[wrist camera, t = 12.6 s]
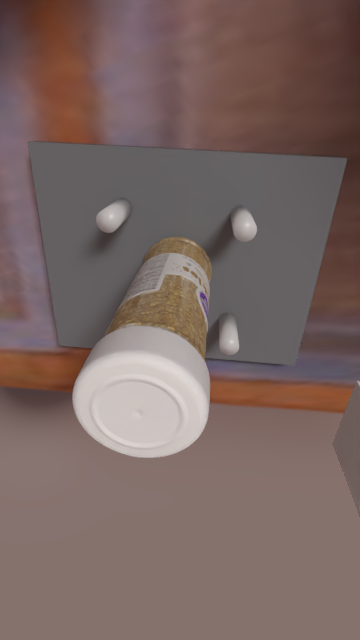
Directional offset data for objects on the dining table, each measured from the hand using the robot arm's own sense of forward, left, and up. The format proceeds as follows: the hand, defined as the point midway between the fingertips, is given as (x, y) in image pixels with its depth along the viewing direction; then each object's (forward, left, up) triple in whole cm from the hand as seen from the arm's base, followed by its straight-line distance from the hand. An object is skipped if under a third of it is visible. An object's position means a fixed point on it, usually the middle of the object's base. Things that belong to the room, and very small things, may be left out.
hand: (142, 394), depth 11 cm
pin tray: (0, 0, -14) cm, 14 cm away
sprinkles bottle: (0, 0, -13) cm, 13 cm away
